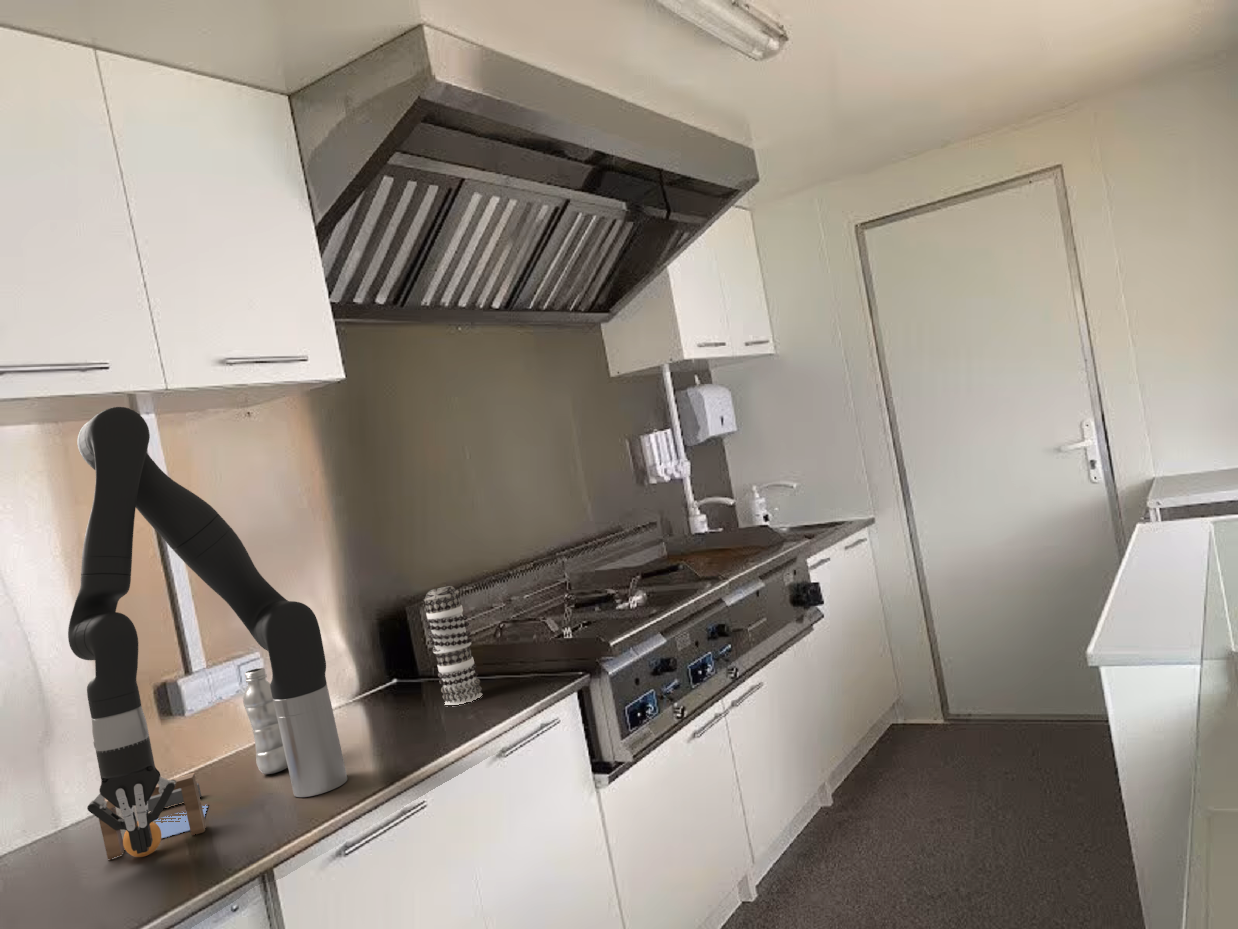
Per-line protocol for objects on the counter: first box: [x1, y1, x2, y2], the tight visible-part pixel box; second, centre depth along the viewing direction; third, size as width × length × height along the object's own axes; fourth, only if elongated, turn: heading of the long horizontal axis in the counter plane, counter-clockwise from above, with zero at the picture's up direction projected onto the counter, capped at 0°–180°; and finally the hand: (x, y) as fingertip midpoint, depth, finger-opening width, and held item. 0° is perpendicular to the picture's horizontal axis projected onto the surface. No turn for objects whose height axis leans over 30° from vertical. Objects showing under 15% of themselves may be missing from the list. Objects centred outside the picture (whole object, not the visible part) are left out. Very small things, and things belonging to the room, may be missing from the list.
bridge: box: [98, 772, 207, 860], centre depth 162 cm, size 3×14×9 cm, turn 108°
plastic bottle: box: [242, 667, 288, 775], centre depth 190 cm, size 6×7×20 cm
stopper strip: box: [148, 782, 202, 812], centre depth 182 cm, size 2×9×2 cm, turn 108°
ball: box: [122, 820, 162, 858], centre depth 157 cm, size 6×6×6 cm
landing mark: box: [155, 804, 209, 839], centre depth 169 cm, size 13×13×1 cm
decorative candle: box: [422, 585, 483, 706], centre depth 217 cm, size 9×9×25 cm
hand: (143, 851), depth 153 cm, fingers closed
